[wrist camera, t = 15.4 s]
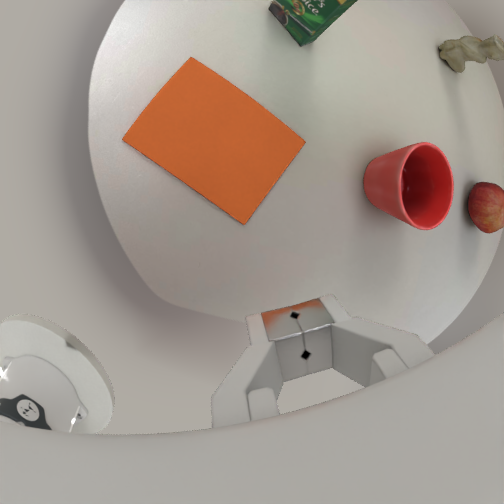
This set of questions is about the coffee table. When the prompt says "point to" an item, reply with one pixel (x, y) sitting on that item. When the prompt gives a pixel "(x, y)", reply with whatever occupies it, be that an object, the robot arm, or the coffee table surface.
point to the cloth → (215, 139)
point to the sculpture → (471, 51)
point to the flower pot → (411, 185)
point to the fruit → (487, 206)
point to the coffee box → (308, 16)
